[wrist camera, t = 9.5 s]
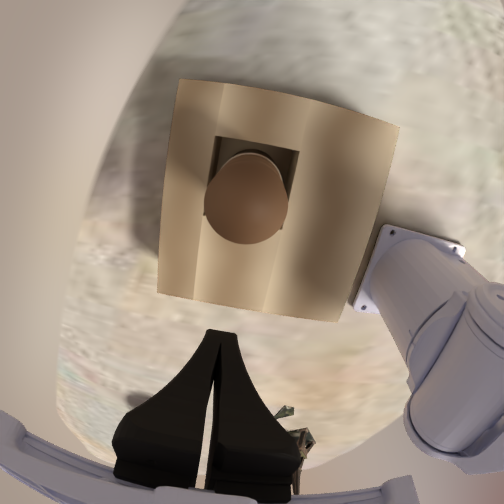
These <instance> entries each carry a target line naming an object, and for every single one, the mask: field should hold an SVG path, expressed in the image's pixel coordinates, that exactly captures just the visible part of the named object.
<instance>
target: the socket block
mask: <svg viewBox="0 0 504 504" xmlns="http://www.w3.org/2000/svg"><path fill="white" fill-rule="evenodd" d="M399 129H400V127H398V126H396V125H393V124H390V123H387V122H385V121H382V120H379V119H376V118H373V117H370V116H367V115H364V114H361V113H358V112H355V111H352V110H348V109H345V108H342V107H338V106H335V105H331V104H327V103H324V102H320V101H316V100H312V99H308V98H304V97H300V96H295V95H291V94H286V93H281V92H276V91H271V90H266V89H261V88H255V87H249V86H242V85H236V84H228V83H221V82H212V81H203V80H192V79H179V84H178V89H177V95H176V100H175V106H174V112H173V118H172V125H171V131H170V138H169V145H168V153H167V161H166V169H165V178H164V188H163V198H162V209H161V222H160V237H159V255H158V282H157V293H161V294H166V295H171V296H176V297H181V298H186V299H191V300H196V301H201V302H206V303H212V304H217V305H223V306H228V307H234V308H240V309H246V310H252V311H258V312H264V313H270V314H277V315H283V316H290V317H297V318H304V319H311V320H319V321H327V322H335V323H338V320H339V318H340V316H341V313H342V311H343V308H344V306H345V303H346V301H347V298H348V296H349V293H350V291H351V288H352V285H353V283H354V280H355V277H356V275H357V272H358V269H359V267H360V264H361V261H362V258H363V255H364V252H365V250H366V247H367V244H368V241H369V238H370V235H371V232H372V229H373V225H374V222H375V219H376V216H377V213H378V209H379V206H380V203H381V199H382V196H383V192H384V189H385V185H386V182H387V178H388V174H389V170H390V167H391V163H392V159H393V155H394V151H395V146H396V142H397V138H398V133H399ZM245 149H258V150H261V151H263V152H265V153H267V154H268V155H269V156H270V157H271V158H272V159H273V160H274V162H275V164H276V166H277V168H278V170H279V172H280V174H281V177H282V182H283V185H284V188H285V190H286V194H287V198H288V211H287V215H286V218H285V221H284V223H283V225H282V226H281V228H280V229H279V230H278V231H277V232H276V233H275V234H274V235H273V236H271V237H270V238H268V239H267V240H265V241H262V242H259V243H256V244H246V245H245V244H237V243H233V242H230V241H228V240H226V239H224V238H223V237H221V236H220V235H219V234H217V233H216V232H215V231H214V230H213V228H212V227H211V226H210V224H209V222H208V220H207V218H206V215H205V211H204V196H205V192H206V189H207V187H208V185H209V183H210V182H211V180H212V179H213V178H214V177H215V176H216V174H217V173H218V172H219V171H220V169H221V168H222V166H223V165H224V164H225V163H226V162H227V161H228V160H229V159H231V158H232V156H234V155H235V154H236V153H238V152H239V151H242V150H245Z"/></svg>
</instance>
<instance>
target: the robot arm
mask: <svg viewBox="0 0 504 504" xmlns="http://www.w3.org/2000/svg"><path fill="white" fill-rule="evenodd" d="M392 230H394V232H393V234H390V232H391V231H392ZM454 247H455V248H454ZM453 248H454V250H453ZM464 253H465V247H464V246H463V245H460V244H457V243H454V242H450V241H447V240H443V239H440V238H437V237H433V236H429V235H426V234H422V233H419V232H415V231H411V230H408V229H404V228H400V227H396V226H393V225H389V224H385V225H383V226H382V227H381V229H380V233H379V235H378V238H377V241H376V244H375V247H374V250H373V253H372V256H371V258H370V261H369V264H368V267H367V269H366V272H365V275H364V277H363V280H362V282H361V285H360V288H359V290H358V293H357V295H356V298H355V300H354V302H353V309H354V310H355V311H358V312H365V313H373V314H381V316H382V318H383V320H384V322H385V324H386V325H387V327H388V329H389V331H390V333H391V335H392V337H393V339H394V341H395V343H396V345H397V347H398V349H399V351H400V353H401V355H402V357H403V359H404V361H405V363H406V365H407V367H408V370H409V377H408V379H407V384H408V386H409V388H410V391H411V393H412V395H411V396H410V398H409V399H408V401H407V403H406V405H405V408H404V413H403V420H404V426H405V429H406V432H407V434H408V436H409V437H410V439H411V440H412V442H413V443H414V444H415V445H416V446H417V447H418V448H419V449H420V450H421V451H423V452H424V453H426V454H427V455H429V456H431V457H434V458H438V459H442V460H446V461H448V462H451V463H453V464H454V465H456V466H457V467H459V468H460V469H461V470H462V471H463V472H464V473H466V474H469V475H472V474H486V473H493V472H500V471H504V284H500V283H496V282H489V281H488V280H487V279H486V278H484V277H483V276H482V275H481V274H480V273H479V272H478V271H477V270H476V269H474V268H473V267H472V266H471V265H470V264H469V263H468V262H466V261H465V260H464V259H463V256H464ZM363 305H365V307H363V308H361V307H362V306H363ZM213 381H214V393H213V423H212V432H211V440H210V447H209V455H208V463H207V471H206V479H205V487H204V489H199V488H195V484H196V478H197V473H198V467H199V462H200V456H201V449H202V441H203V433H204V425H205V417H206V409H207V405H208V401H209V397H210V393H211V389H212V385H213ZM112 446H113V449H114V451H115V453H116V456H117V460H116V464H115V467H114V468H111V467H108V466H106V465H103V464H100V463H97V462H94V461H92V460H89V459H86V458H84V457H81V456H78V455H76V454H74V453H71V452H69V451H67V450H65V449H63V448H60V447H58V446H56V445H54V444H52V443H50V442H48V441H45V440H43V439H41V438H40V437H38V436H36V435H34V434H32V433H30V432H28V431H27V430H26V428H25V427H24V425H23V424H22V423H21V422H20V421H18V420H17V419H16V418H14V417H12V416H11V415H9V414H7V413H5V412H4V411H2V410H0V468H1V469H2V470H3V471H5V472H6V473H8V474H9V475H11V476H12V477H14V478H16V479H17V480H19V481H20V482H22V483H24V484H25V485H27V486H29V487H30V488H32V489H34V490H36V491H37V492H39V493H41V494H43V495H44V496H46V497H48V498H50V499H52V500H54V501H56V502H58V503H59V504H420V503H419V500H418V496H417V492H416V489H415V486H414V482H413V479H412V476H411V475H407V476H403V477H398V478H394V479H390V480H388V481H386V482H385V483H383V484H382V485H381V486H379V487H373V488H367V489H360V490H353V491H346V492H336V493H325V494H307V495H291V486H290V485H291V484H292V475H293V474H294V473H295V471H296V470H297V469H298V468H299V467H300V465H301V455H300V451H299V448H298V445H297V442H296V440H295V439H294V438H293V437H292V436H291V435H290V434H289V433H288V432H287V431H286V430H285V429H284V428H283V427H282V426H281V425H280V424H279V422H278V421H277V420H276V419H275V418H274V416H273V415H272V414H271V412H270V411H269V410H268V408H267V407H266V406H265V404H264V403H263V401H262V399H261V398H260V396H259V395H258V393H257V391H256V389H255V387H254V385H253V383H252V381H251V379H250V377H249V375H248V372H247V370H246V367H245V365H244V362H243V359H242V356H241V353H240V349H239V345H238V340H237V335H236V334H235V333H230V332H224V331H218V330H213V329H208V330H207V331H206V334H205V336H204V338H203V340H202V342H201V344H200V345H199V347H198V349H197V350H196V351H195V353H194V354H193V356H192V357H191V359H190V360H189V361H188V362H187V364H186V365H185V366H184V367H183V369H182V370H181V371H180V372H179V373H178V374H177V375H176V376H175V377H174V378H173V379H172V380H171V381H170V382H169V383H168V384H167V385H166V386H165V387H164V388H163V389H162V390H160V391H159V392H158V393H157V394H155V395H154V396H153V397H151V398H150V399H149V400H147V401H146V402H144V403H143V404H141V405H140V406H138V407H136V408H135V409H133V410H131V411H129V412H128V413H126V415H125V416H124V417H123V419H122V420H121V422H120V423H119V425H118V427H117V429H116V431H115V434H114V436H113V439H112Z"/></svg>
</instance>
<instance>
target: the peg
mask: <svg viewBox="0 0 504 504" xmlns="http://www.w3.org/2000/svg"><path fill="white" fill-rule="evenodd" d="M204 211H205V215H206V218H207V220H208V222H209V224H210V226H211V227H212V228H213V230H214V231H215V232H216V233H217V234H219V235H220V236H221V237H223V238H224V239H226V240H228V241H230V242H233V243H237V244H245V245H246V244H256V243H259V242H262V241H265V240H267V239H268V238H270V237H271V236H273V235H274V234H275V233H276V232H277V231H278V230H279V229H280V228H281V226H282V225H283V223H284V221H285V218H286V215H287V211H288V198H287V194H286V190H285V188H284V185H283V182H282V177H281V174H280V172H279V170H278V168H277V166H276V164H275V162H274V160H273V159H272V158H271V157H270V156H269V155H268V154H267V153H265V152H263V151H261V150H258V149H245V150H242V151H239V152H238V153H236V154H235V155H234V156H232V158H231V159H229V160H228V161H227V162H226V163H225V164H224V165H223V166H222V168H221V169H220V171H219V172H218V173H217V174H216V176H215V177H214V178H213V179H212V180H211V182H210V183H209V185H208V187H207V189H206V192H205V196H204Z"/></svg>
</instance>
